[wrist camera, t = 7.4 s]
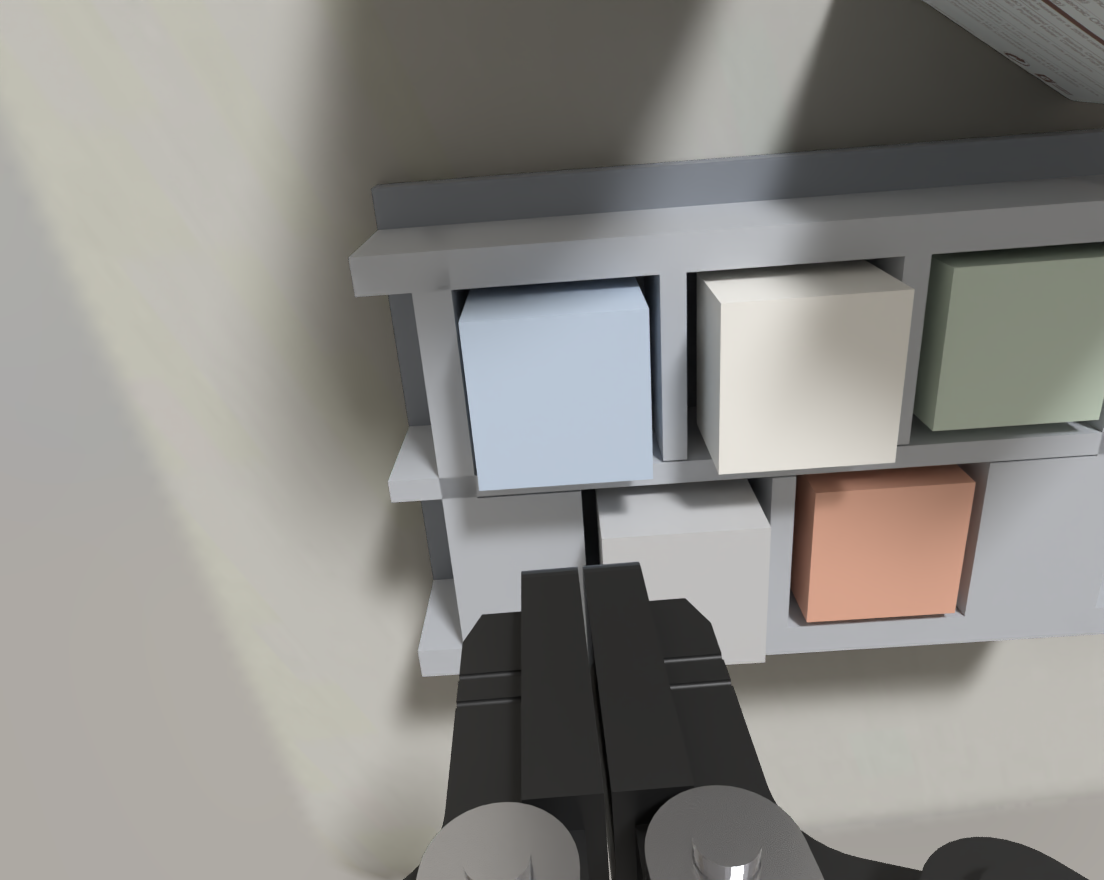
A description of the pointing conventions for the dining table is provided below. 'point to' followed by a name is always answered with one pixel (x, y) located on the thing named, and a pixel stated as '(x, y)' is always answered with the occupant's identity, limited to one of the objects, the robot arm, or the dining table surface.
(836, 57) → the dining table surface
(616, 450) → the key blue
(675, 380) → the keypad board
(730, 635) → the key grey
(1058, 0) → the supplement box
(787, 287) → the key ivory
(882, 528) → the key terracotta
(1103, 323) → the key sage
